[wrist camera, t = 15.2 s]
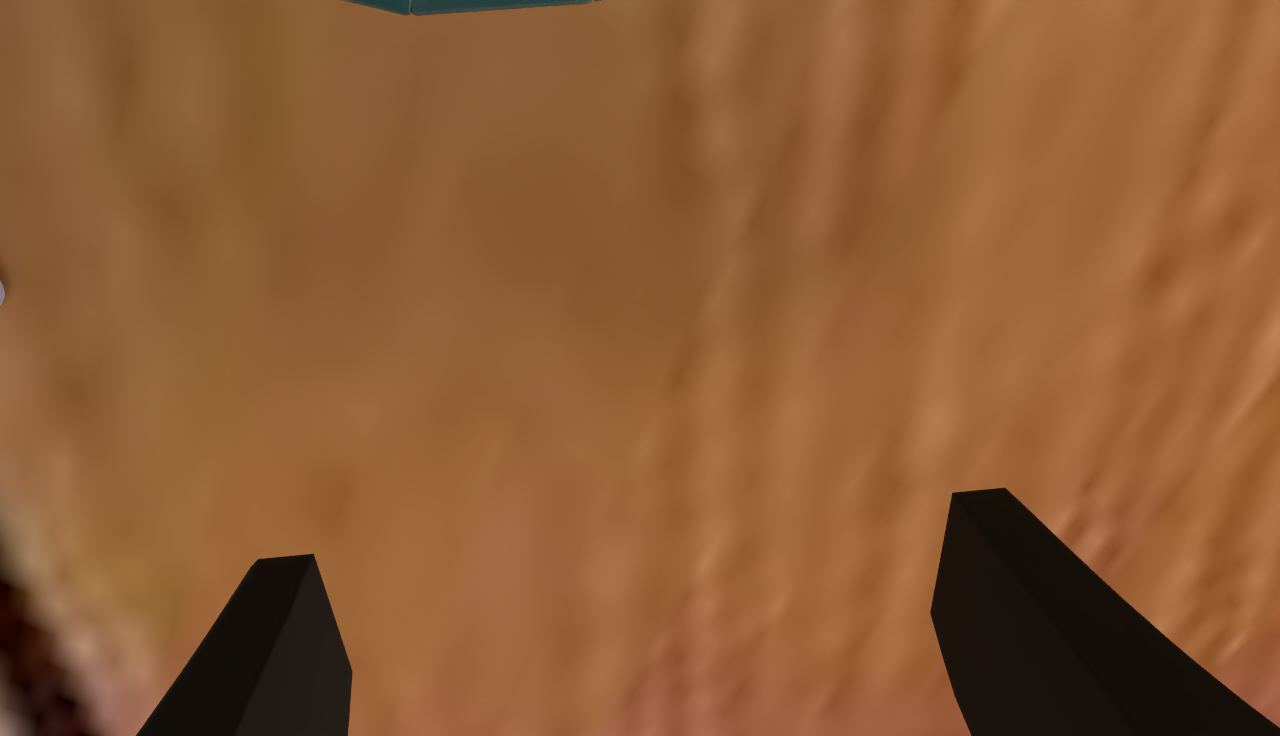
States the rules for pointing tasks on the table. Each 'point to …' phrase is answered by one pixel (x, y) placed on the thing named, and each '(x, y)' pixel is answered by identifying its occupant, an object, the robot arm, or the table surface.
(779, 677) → the table surface
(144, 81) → the table surface
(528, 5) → the bowl
